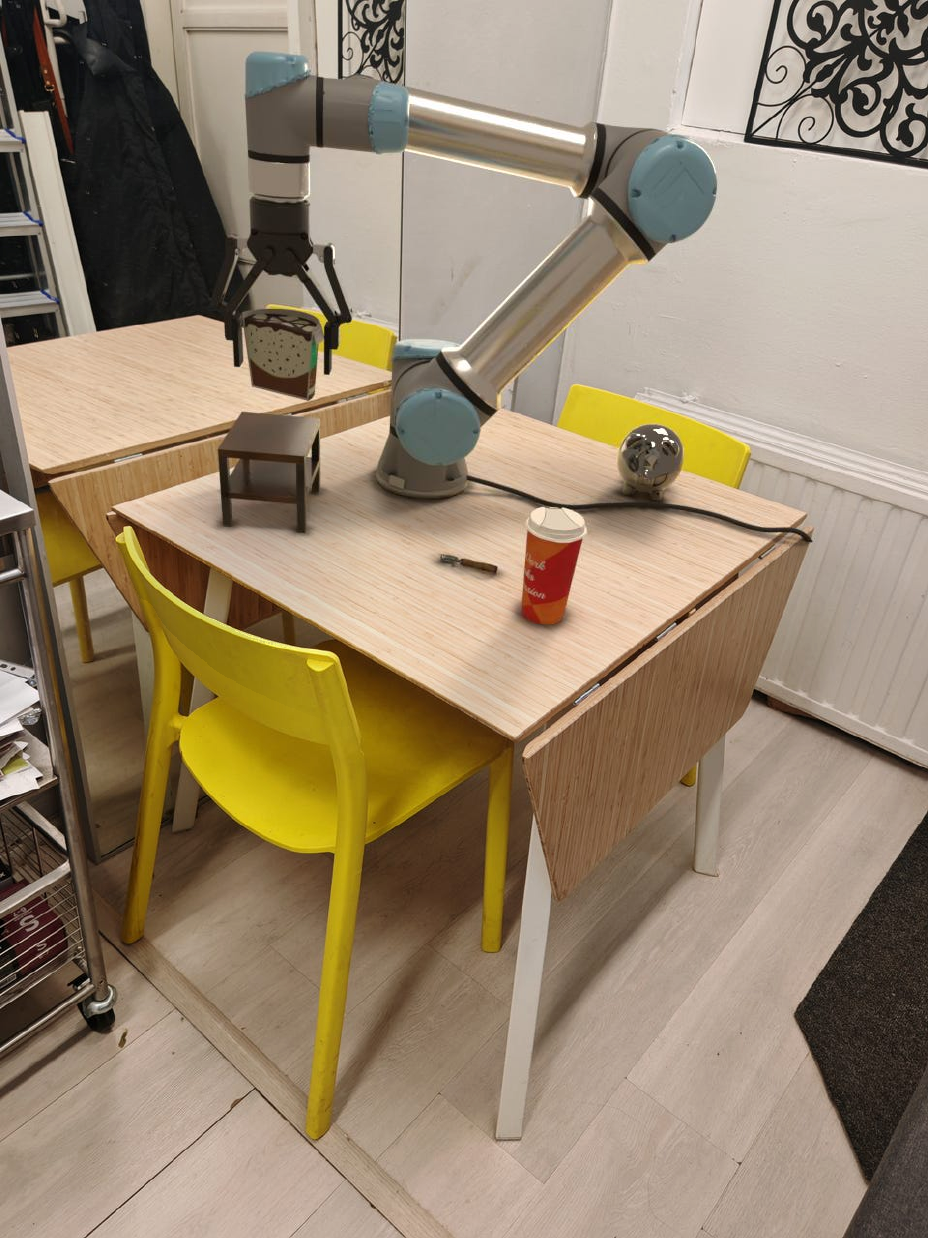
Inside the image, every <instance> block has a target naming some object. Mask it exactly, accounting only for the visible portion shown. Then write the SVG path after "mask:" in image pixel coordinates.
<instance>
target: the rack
mask: <svg viewBox="0 0 928 1238" xmlns="http://www.w3.org/2000/svg"><path fill="white" fill-rule="evenodd" d="M310 451H311V453H310ZM309 454H311V456H309ZM217 456H218V458H217V459H218V475H219V488H220V503H221V517H222V519H221V520H222V526H223V527H231V528H232V527H233V526H232V525H233V524H234V521H233V504H232V503H233V502H232V500H241V501H251V502H252V501H254V502H263V503H264V502H267V503H278V504H291V505H296V532H297V533H303V534H305V533H306V531H307V500H308V498H309V495H310V492H311V493H314V494H315V493H316V494H319V493H320V492H321V418H319V417H308V416H296V415H287V414H286V415H285V414H274V413H262V412H251V411H241V412H240V413H239V415H238V417H237V418H236V420H235V421H234V423H233V424H232V426H231V427H230V429H229V431H228V432H227V434H226V435H225V437H224V439H223V440H222V442H221V443H220V444H219V446H218V448H217ZM230 459H236V460H237V459H238V461H237V462H236V463H235V466H234V467H233V469H232V471H231V468H230Z"/></svg>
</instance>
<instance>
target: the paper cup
mask: <svg viewBox="0 0 928 1238" xmlns="http://www.w3.org/2000/svg"><path fill="white" fill-rule="evenodd" d="M585 524H586V521H585V519H584V517H583V516H582V514H580V513H578V512H577V511H576V510H570V509H567V508H561V509H558V507H546V506H541V507H537V508H535V509H533V510H532V511H531V512H530V514H529V516H528V517H527V519H526V521H525V523H524V525H525V528H526V540H525V541H526V542H525V543H526V544H525V554H524V567H523V568H524V569H523V579H522V591H521V592H522V594H521V614H522V616H523V617H524V618H525V619H526V620H528V621H530V622H532V623H535V624H538V625H544V626H545V625H546V626H547V625H554V624H557V623H559V622H561V621H562V620H563V618H564V615H565V611H566V607H567V604H568V600H569V596H570V592H571V588H572V584H573V580H574V576H575V571H576V568H577V564H578V560H579V556H580V551H581V547H582V543H583V539H584V538H585V537H586V535H587V532H588V531H587V526H586V525H585Z"/></svg>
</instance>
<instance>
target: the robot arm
mask: <svg viewBox="0 0 928 1238" xmlns="http://www.w3.org/2000/svg"><path fill="white" fill-rule="evenodd" d="M244 75H245V76H244V77H245V79H244V81H245V85H244V86H245V87H244V88H245V91H244V92H245V93H244V104H245V122H246V124H245V125H246V126H245V127H246V142H247V143H246V145H247V173H248V175H247V178H248V179H247V180H248V191H249V192H250V193H251V194H252V195H253V196H251V197H250V199H249V226H250V228H249V229H250V232H249V236H248V237H243V236H238V234H236V233H231V234H229V236H227V237H226V239H225V241H224V243H225V244H224V245H225V256H224V259H223V262H222V265H221V267H220V271H219V274H218V276H217V280H216V283H215V285H214V288H213V291H212V295H211V297H210V300H209V303H208V308H209V310H210V311H212V312H217V313H219V314H221V315H222V317H223V327H224V338H225V340H226V341H230V342H232V354H233V355H232V356H233V368H240V367H241V366H242V365H243V363H244V361H245V360H244V342H243V341H244V339H243V338H244V337H243V327H240V318H241V317H242V313H236V311H237V310H238V308H239V306H240V305H241V304H242V302H243V300H244V299H245V298H246V296H247V295H248V294H249V292H250V291H251V290H252V287H254V285H255V284H256V282H257V280H258V279H259V277H260V276H261V275H262V273H263V272H265V273H266V274H267V275H268V276H278V275H281V276H284V277H288V278H293V277H295V276H296V277H297V278H298V279H299V281H300V282H301V283H302V284H303V286H304V287H305V288H306V290H307V292H308V293H309V294H310V296H311V298H312V300H314V303H315V304H316V306H317V307H318V308H319V310H320V312H321V313H322V314H323V316H324V318H325V319H326V320H327V321H326V322H325V323H324V326H323V334H324V339H323V375H325V376H330V374H331V372H332V368H333V350H334V351H335V350H338V348H339V346H340V344H341V325H344V324H349V323H351V322H352V320H353V318H354V315H355V313H354V310H353V307H352V305H351V301H350V298H349V295H348V293H347V291H346V288H345V285H344V282H343V279H342V277H341V274H340V271H339V267H338V265H337V262H336V246H335V244H334V243H332V242H328V243H326V244H318V243H317V244H315V243H314V242H313V240H312V237H311V203H310V202H309V201H308V200H307V199H306V198H308V197H309V196H310V195H311V168H310V167H311V165H310V164H311V163H310V162H311V161H310V160H311V154H310V153H311V152H310V151H311V147H313V148H320V149H323V148H327V149H337V150H344V151H357V152H366V153H373V154H376V155H383V154H395V155H399V154H403V153H404V152H409V153H415V154H418V155H422V156H423V155H424V156H428V157H432V158H437V159H441V160H446V161H450V162H455V163H459V164H463V165H468V166H471V167H475V168H476V167H477V168H481V169H485V170H490V171H494V172H497V173H498V172H499V173H504V174H508V175H512V176H516V177H522V178H526V179H529V180H535V181H538V182H543V183H547V184H552V185H557V186H561V187H565V188H568V190H569V192H570V193H571V195H572V196H573V197H574V198H579V199H584V200H586V201H587V206H586V214H585V216H584V217H583V218H582V220H580V221H579V222H578V224H577V225H576V226H575V227H574V228H573V229H571V231H570V232H569V233H568V234H567V235H566V236H565V237H564V238H563V239H562V240H561V241H560V242H559V244H558V245H556V247H555V248H553V249H552V251H550V253H549V254H548V255H547V256H546V257H545V258H544V259H543V260H542V261H541V262H540V263H539V264H538V265H537V267H535V269H533V270H532V271H531V272H530V274H529V275H527V276H526V277H525V279H524V280H523V281H522V282H521V283H519V285H518V286H516V288H515V289H514V290H513V291H511V293H510V294H509V295H508V297H506V299H504V300H503V302H502V303H501V304H500V305H499V306H497V308H496V309H494V311H493V312H492V313H491V314H490V315H489V316H488V317H487V318H486V319H485V320H484V321H483V322H482V323H481V324H480V325H479V326H478V328H476V330H474V332H473V333H472V334H471V335H470V336H469V337H467V339H466V340H465V341H464V342H463V343H462V344H459V343H457V342H453V341H447V340H440V339H431V338H428V339H427V338H411V339H403V340H399V341H397V342H396V343H395V344H394V346H393V349H392V357H391V358H390V362H391V365H392V366H391V383H390V384H391V385H390V406H389V409H390V410H389V431H388V432H389V433H388V435H387V439H386V440H385V444H384V446H383V449H382V451H381V454H380V456H379V459H378V462H377V466H376V475H375V476H376V481H377V483H378V484H379V485H380V486H381V487H382V488H383V489H385V490H387V491H388V492H390V493H393V494H396V495H398V496H403V497H407V498H413V499H421V500H436V499H444V498H445V499H446V498H449V497H453V496H455V495H457V494H460V493H462V492H463V491H464V490H465V489H466V488H467V486H468V481H469V482H472V483H476V484H480V485H482V486H486V487H490V488H492V489H497V490H500V491H504V492H506V493H509V494H512V495H516V496H519V497H522V498H524V499H527V500H528V501H531V502H534V503H535V504H538V505H542V506H544V507H547V508H549V507H558V509H561V508H567V509H570V510H572V511H582V510H583V511H584V510H594V509H595V510H596V509H612V508H613V509H615V508H619V509H620V508H658V509H666V510H667V509H669V510H675V511H681V512H682V511H683V512H689V513H694V514H698V515H703V516H706V517H710V518H713V519H717V520H721V521H723V522H726V523H729V524H732V525H734V526H737V527H740V528H744V529H746V530H749V531H750V530H751V531H754V532H758V533H771V534H772V533H777V534H778V533H787V534H788V533H789V534H795V535H798V536H800V537H801V538H803V540H805V542H807V543H813V542H814V541H813V540H812V538H811V536H810V535H809V534H808V533H806V532H805V531H803V530H801V529H799V528H796V527H789V526H785V527H784V526H779V527H778V526H777V527H772V526H771V527H767V526H758V525H754V524H751V523H747V522H744V521H741V520H738V519H735V518H732V517H730V516H727V515H725V514H721V513H718V512H714V511H711V510H707V509H702V508H698V507H694V506H689V505H683V504H675V503H667V502H657V501H656V502H654V501H623V502H621V501H620V502H619V501H618V502H593V503H585V504H584V503H582V504H567V503H558V502H553V501H549V500H545V499H544V498H543V499H542V498H539V497H537V496H534V495H532V494H530V493H528V492H525V491H523V490H519V489H516V488H513V487H510V486H506V485H505V484H504V485H503V484H501V483H497V482H494V481H490V480H487V479H484V478H480V477H476V476H472V475H469V471H468V465H467V462H466V461H467V460H466V457H467V456H469V455H470V454H471V452H472V451H473V450H474V449H475V447H476V446H477V443H478V441H479V439H480V435H481V430H482V429H481V428H482V427H483V426H484V425H485V424H487V422H488V421H489V420H490V419H491V418H492V417H493V416H494V415H495V414H497V412H498V411H499V410H500V409H501V407H502V406H501V405H502V394H503V392H504V390H505V389H506V388H507V387H508V386H509V385H510V384H512V382H513V381H514V380H515V379H516V378H518V376H519V375H520V374H521V373H522V372H523V371H525V369H527V368H528V366H529V365H530V364H532V362H533V361H535V359H537V358H538V356H540V354H542V353H543V352H544V351H545V349H547V347H549V346H550V345H551V344H552V343H553V341H555V339H557V338H558V337H559V335H560V334H562V333H563V331H565V330H566V329H567V328H568V327H569V326H570V325H571V324H572V322H573V321H575V320H576V318H578V317H579V316H580V315H581V314H582V313H583V312H584V311H585V310H586V308H588V307H589V306H590V305H592V303H593V302H594V301H595V300H596V299H597V298H598V297H599V296H600V295H601V294H602V293H603V292H604V291H605V290H606V289H607V288H608V287H609V286H610V285H611V284H612V283H613V282H614V281H615V280H616V279H617V278H618V277H619V276H620V275H621V274H622V273H623V272H624V271H625V270H626V269H627V268H628V267H629V266H632V265H647V264H648V263H650V261H651V260H652V259H654V258H655V257H656V256H657V255H658V254H659V253H660V252H661V251H662V249H664V248H665V247H666V246H667V245H668V244H675V243H678V242H680V241H683V240H685V239H688V238H689V237H691V236H692V235H694V234H695V233H697V232H698V231H699V230H700V229H701V228H702V227H703V225H704V224H705V223H706V222H707V220H708V219H709V217H710V215H711V214H712V211H713V209H714V206H715V203H716V199H717V192H718V191H717V190H718V177H717V171H716V168H715V165H714V162H713V160H712V158H711V157H710V156H709V154H708V152H706V151H705V149H704V148H702V147H701V145H699V144H697V143H696V142H695V141H694V140H692V139H691V138H690V137H687V136H684V135H681V134H673V133H669V132H667V131H664V130H660V129H657V128H653V127H652V128H651V127H648V128H647V127H635V126H634V127H633V126H632V127H630V126H620V125H610V124H604V123H601V122H600V123H599V122H596V121H589V122H588V123H586V124H585V125H584V126H582V127H580V126H577V125H572V124H568V123H564V122H560V121H556V120H551V119H547V118H543V117H538V116H534V115H530V114H526V113H521V112H517V111H513V110H508V109H505V108H500V107H495V106H490V105H488V104H483V103H478V102H474V101H470V100H466V99H461V98H458V97H453V96H448V95H445V94H442V93H441V94H440V93H436V92H432V91H427V90H423V89H420V88H416V87H415V88H414V87H411V86H406V85H400V84H397V83H393V82H389V81H386V80H385V81H384V80H380V79H377V78H374V77H372V76H371V75H368V74H361V73H355V74H352V75H351V74H350V75H348V76H346V77H345V78H332V77H331V78H330V77H324V76H318V75H314V74H312V70H311V67H310V61H309V59H308V58H307V57H306V56H304V55H299V54H291V53H283V52H274V51H262V50H260V51H259V50H257V51H252V52H250V53H249V54H248V56H247V57H246V59H245V73H244ZM246 248H247V249H248V250H249V252H250V254H251V255H252V256H253V258H254V259H255V261H256V262H255V263H254V265H253V266H252V267H251V269H250V270H249V272H248V274H247V275H246V276H245V277H244V279H243V280H242V282H241V284H240V285H239V286H238V288H237V289H236V291H235V292H234V294H233V295H232V297H231V298H230V300H229V301H228V302H226V301H224V299H225V297H226V293H227V290H228V288H229V285H230V282H231V279H232V276H233V273H234V271H235V268H236V265H237V262H238V259H239V256H240V255H242V254H243V253H244V251H245V249H246ZM313 255H315V256H316V257H317V260H318V261H319V263H322V264H323V267H324V271H325V275H326V276H327V279H328V282H329V286H330V288H331V290H332V293H333V296H334V298H335V301H336V304H337V307H338V309H339V312H338V310H337V309H336V307H335V306H334V304H333V303H332V301H331V299H330V298H329V296H328V295H327V294H326V292H325V290H324V289H323V286H321V284H320V283H319V281H318V280H317V279H318V278H316V277H315V276H316V275H314V273H313V270H312V269H311V267H310V266H309V264H308V262H309V260H310V259H311V257H312V256H313Z"/></svg>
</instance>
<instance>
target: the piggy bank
mask: <svg viewBox="0 0 928 1238" xmlns="http://www.w3.org/2000/svg"><path fill="white" fill-rule="evenodd" d="M685 455H686V454H685V448H684V444H683V442H682V440H681V438H680V436H679V435H678V434H677V433H676V432H675V431H674V430H673V429H672V428H670V427H667V426H666V425H662V424H659V423H645V424H642V425H638V426H637V427H635V428H633V429H631V430H630V431H629V432H628V433H627V434H626V435H624V438H623V439H622V441H621V442H620V444H619V447H618V449H617V453H616V468H617V472H618V474H619V476H620V478H621V479H622V480H623V486H622V493H623V494H624V495H626V496H630V495H633V494H634V493H635V491H639V492H643V493H649V495H650V498H651V499H652V500H653V501H656V502H658V501H661V500H662V498H663V495H664V493H665V490H666V489H667V488H669V487H670V486H672V484H674V483H675V482H676V481H677V479H678V478H679V476H680V475H681V473H682V471H683V468H684V464H685V459H686V458H685Z"/></svg>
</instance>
